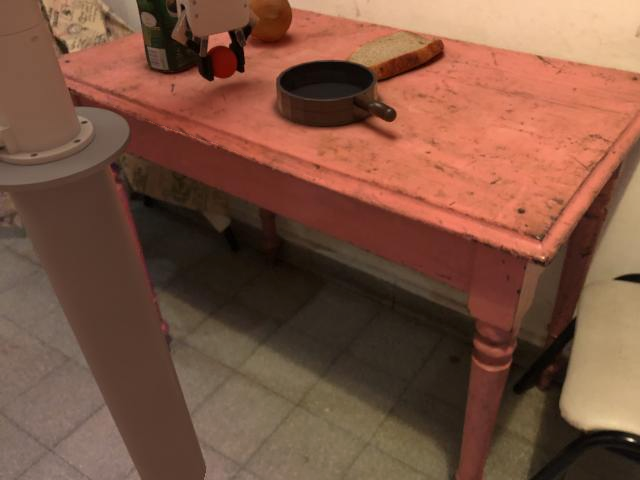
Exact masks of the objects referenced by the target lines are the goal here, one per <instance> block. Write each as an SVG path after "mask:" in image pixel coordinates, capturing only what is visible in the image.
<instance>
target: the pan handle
mask: <svg viewBox="0 0 640 480" xmlns="http://www.w3.org/2000/svg"><path fill="white" fill-rule="evenodd" d="M354 102H355V105H356V106H357V107H358V108H360V109H362V110H364V111H366V112H368V113H370V115H372V116H375V117H376V118H378V119H380V120H383V121H385V122H386V123H394V121H395V120H396V119H397V118H398V117H397V116H398V113H397V112H398V111H397V110H396V109H395V108H393V107H392V106H390V105H387V104H385V103H383V102H381V101H380V100H378V99H377V100H375V99H373V98H371V97H369V96H367V95H365V94H358V95H357V96H356V98H355V101H354Z"/></svg>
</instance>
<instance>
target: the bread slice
mask: <svg viewBox="0 0 640 480" xmlns="http://www.w3.org/2000/svg"><path fill="white" fill-rule="evenodd" d="M444 50H445V44H444V42H443V40H442V39H441V38H437V39H436V38H435V37H434V38H432V39H429V38H426V37H424V36H421V35H419V34H418V33H415V32H413V31H409V30H404V29H403V30H399V31H398V30H397V31H396V32H392V33H389V34H384V35H380V36H378V37H376V38H373V39H372V40H369V41H366V42H364V43H362V44H361V45H360V47H359V48H358V49H356V50H355V51H353V52H352V53H351V54H349V56H348V57H347V58H346V61H350V62H354V63H359V64H361V65H364V66H366V67H368V68H370V69H371V70H372V71H373V72H375V73H376V76H377V80H378V81H380V80H386V79H387V78H391V77H394V76H395V75H398V74H402V73H403V72H407V71H409V70H411V69H413V68H417V67H418V66H420V65H424V64H425V63H427V62H428V61H430V60H432V59H433V58H434V57H436V55H438V54H440V53H442V52H443V51H444Z"/></svg>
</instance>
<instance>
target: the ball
mask: <svg viewBox="0 0 640 480" xmlns="http://www.w3.org/2000/svg"><path fill="white" fill-rule="evenodd" d="M207 53H208V55H209V56H211V59H212V66H213V73H214V78H216V79H221V80H222V79H223V80H224V79H228V78H231V77H232V76H233V75H234V74H235V73H236V72H237V71H236V69H237V64H238V62H237V57H236V55H235V53H234V52H233V51H232V50H231V49H230V48H229V46H226V45H215V46H213V47H211V48H210V49H209V50H207Z"/></svg>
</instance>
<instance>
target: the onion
mask: <svg viewBox="0 0 640 480" xmlns="http://www.w3.org/2000/svg"><path fill="white" fill-rule="evenodd" d="M248 6H249V7H250V8H251V9H252V11H253V12H254V13H255V14H256V15H257V16H258V18H259V22H258V23H257V25H256V26H255V27H254V29H252V32H251V34H250V37H252V38H253V39H256V40H260V41H264V42H271V43H273V42H277V41H278V40H279V39H280V38H282V37H283V36H284V35H285V34H286V33H287V32H288V31H289V29H290V27H291V25H292V21H293V10H292V7H291V4H290V1H289V0H248Z"/></svg>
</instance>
